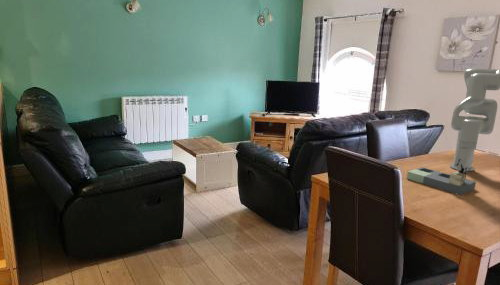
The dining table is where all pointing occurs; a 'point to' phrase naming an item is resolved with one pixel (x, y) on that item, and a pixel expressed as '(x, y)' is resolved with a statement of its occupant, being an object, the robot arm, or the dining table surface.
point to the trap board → (439, 180)
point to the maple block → (457, 178)
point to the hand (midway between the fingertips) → (461, 179)
